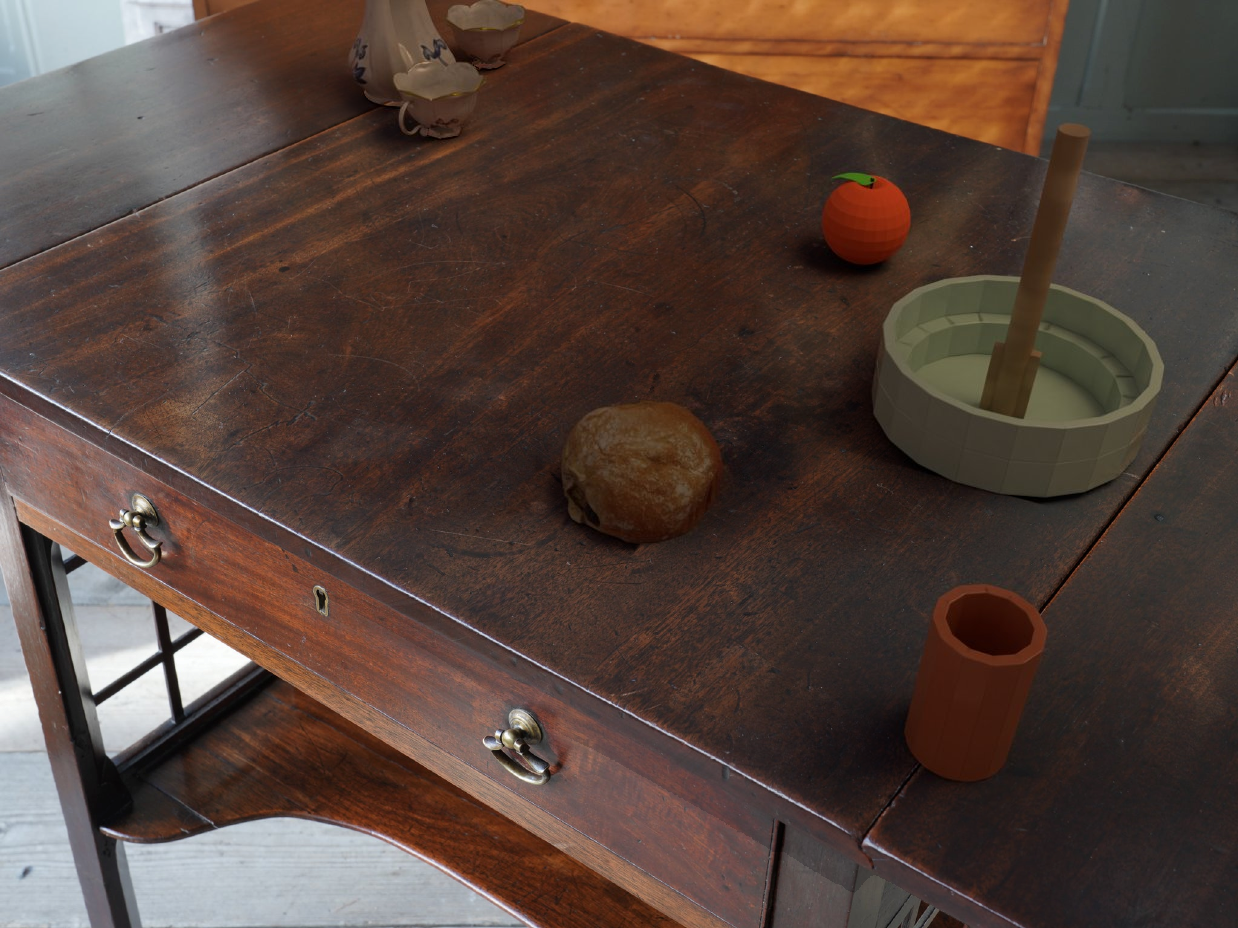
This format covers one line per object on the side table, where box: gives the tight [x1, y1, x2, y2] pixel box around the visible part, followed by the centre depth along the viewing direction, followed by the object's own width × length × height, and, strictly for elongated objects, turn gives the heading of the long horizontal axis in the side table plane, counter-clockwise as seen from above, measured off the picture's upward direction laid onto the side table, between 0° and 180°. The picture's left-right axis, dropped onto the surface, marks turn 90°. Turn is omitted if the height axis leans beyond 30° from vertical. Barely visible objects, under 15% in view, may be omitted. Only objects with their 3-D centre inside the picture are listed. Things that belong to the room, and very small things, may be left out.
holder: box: [903, 583, 1049, 782], centre depth 58 cm, size 5×5×9 cm
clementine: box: [820, 172, 912, 266], centre depth 97 cm, size 8×7×7 cm
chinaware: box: [347, 0, 527, 137], centre depth 119 cm, size 28×17×17 cm, turn 176°
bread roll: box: [560, 400, 724, 545], centre depth 75 cm, size 10×10×8 cm
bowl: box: [871, 274, 1165, 498], centre depth 80 cm, size 17×17×6 cm
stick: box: [979, 122, 1092, 419], centre depth 76 cm, size 3×2×20 cm, turn 66°
